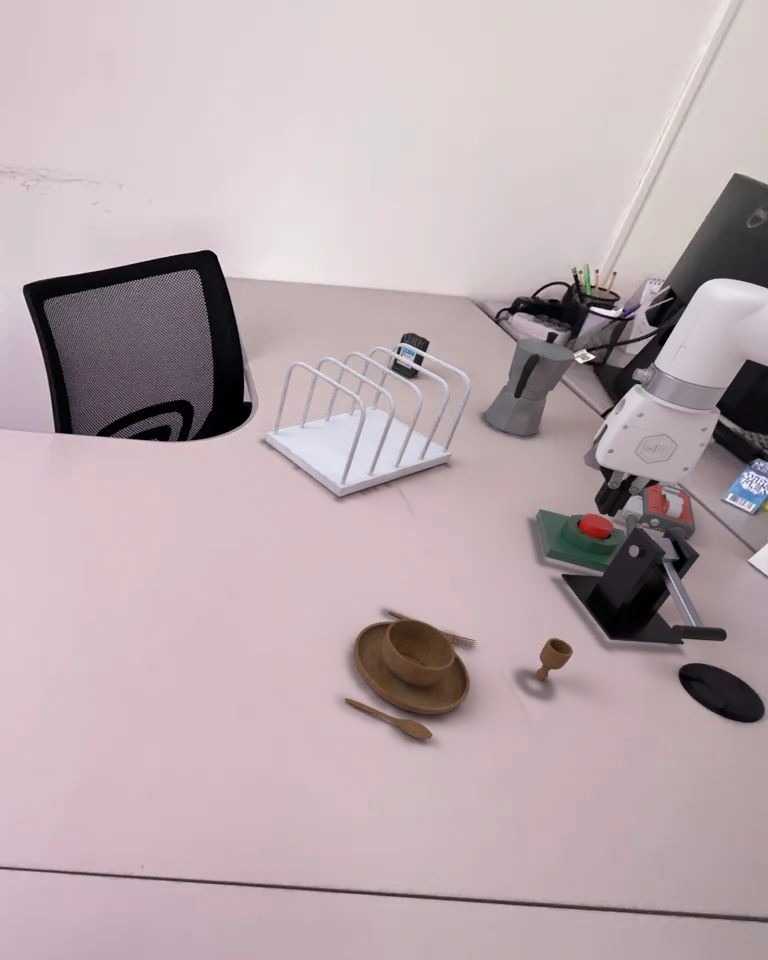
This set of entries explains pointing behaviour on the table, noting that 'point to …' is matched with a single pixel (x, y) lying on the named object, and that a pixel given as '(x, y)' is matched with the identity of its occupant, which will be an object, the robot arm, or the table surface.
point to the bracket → (633, 589)
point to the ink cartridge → (410, 354)
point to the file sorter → (363, 430)
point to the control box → (576, 541)
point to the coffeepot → (529, 385)
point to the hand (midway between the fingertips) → (604, 509)
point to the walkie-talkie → (661, 510)
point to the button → (596, 526)
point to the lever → (683, 599)
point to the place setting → (424, 668)
